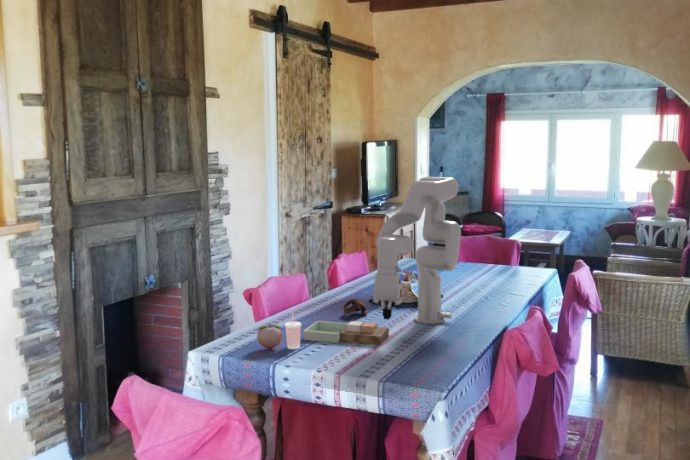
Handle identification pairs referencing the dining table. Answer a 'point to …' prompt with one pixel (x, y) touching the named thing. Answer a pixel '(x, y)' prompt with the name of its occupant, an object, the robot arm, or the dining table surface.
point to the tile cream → (354, 326)
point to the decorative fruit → (269, 336)
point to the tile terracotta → (369, 327)
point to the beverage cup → (293, 334)
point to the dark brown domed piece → (354, 307)
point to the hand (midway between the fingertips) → (387, 318)
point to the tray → (324, 331)
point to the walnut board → (364, 336)
